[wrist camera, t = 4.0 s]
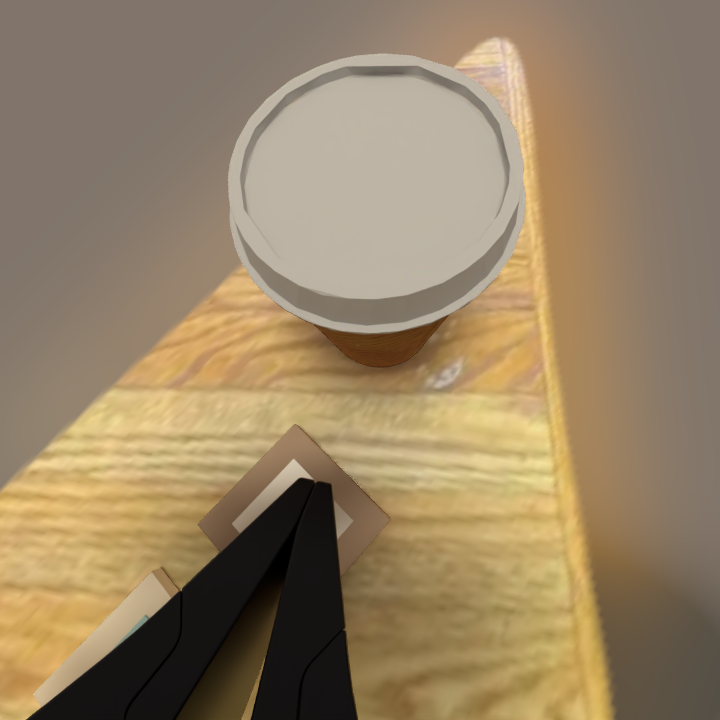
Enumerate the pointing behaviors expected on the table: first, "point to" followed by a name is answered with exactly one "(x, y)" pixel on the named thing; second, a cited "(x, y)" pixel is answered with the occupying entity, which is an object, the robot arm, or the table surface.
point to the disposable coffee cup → (377, 199)
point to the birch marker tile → (111, 632)
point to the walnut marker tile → (280, 471)
